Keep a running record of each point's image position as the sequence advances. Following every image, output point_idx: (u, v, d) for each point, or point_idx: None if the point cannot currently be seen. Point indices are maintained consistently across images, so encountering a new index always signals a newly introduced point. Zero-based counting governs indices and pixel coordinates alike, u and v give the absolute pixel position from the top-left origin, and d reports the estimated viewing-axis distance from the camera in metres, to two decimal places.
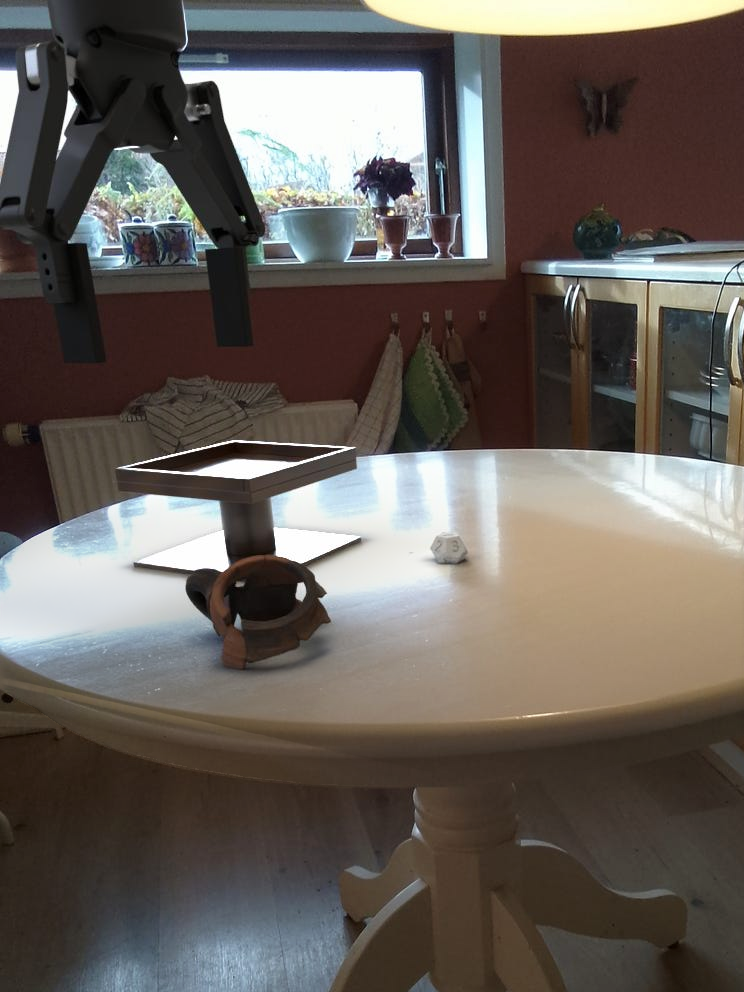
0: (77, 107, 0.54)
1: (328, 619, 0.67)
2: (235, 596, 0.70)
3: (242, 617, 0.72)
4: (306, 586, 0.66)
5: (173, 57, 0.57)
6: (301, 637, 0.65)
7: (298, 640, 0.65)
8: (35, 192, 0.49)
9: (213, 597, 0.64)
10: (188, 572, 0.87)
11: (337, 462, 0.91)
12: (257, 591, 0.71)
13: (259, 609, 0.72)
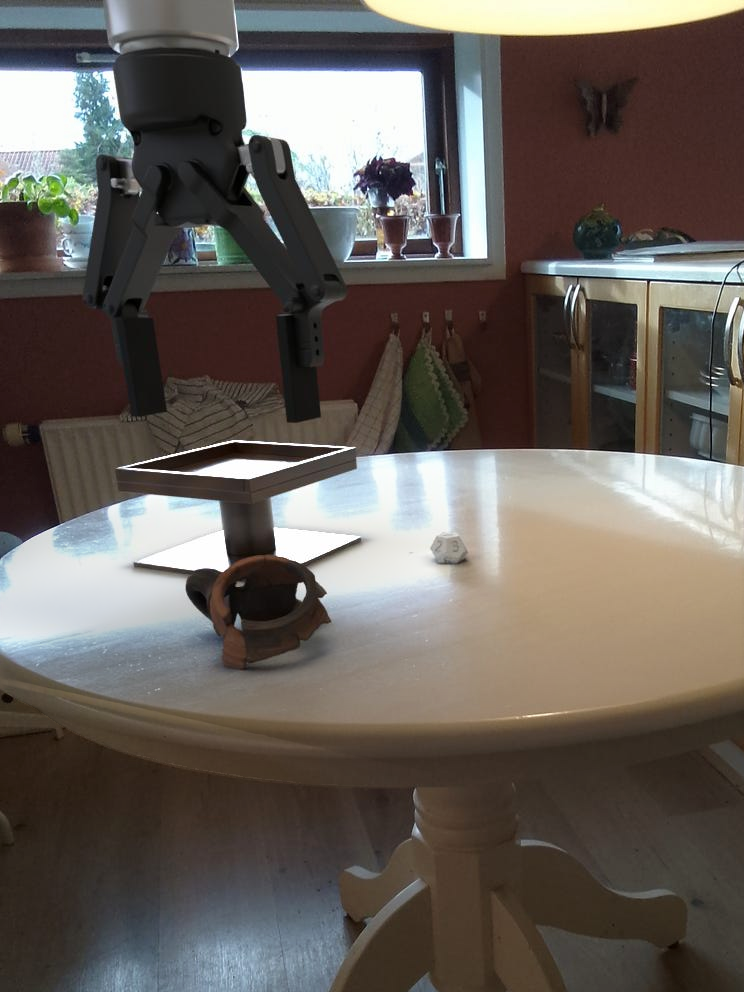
0: (210, 184, 0.56)
1: (328, 619, 0.67)
2: (235, 596, 0.70)
3: (243, 617, 0.72)
4: (306, 586, 0.66)
5: None
6: (301, 637, 0.65)
7: (298, 640, 0.65)
8: None
9: (213, 597, 0.64)
10: (188, 572, 0.87)
11: (337, 462, 0.91)
12: (257, 591, 0.71)
13: (259, 609, 0.72)
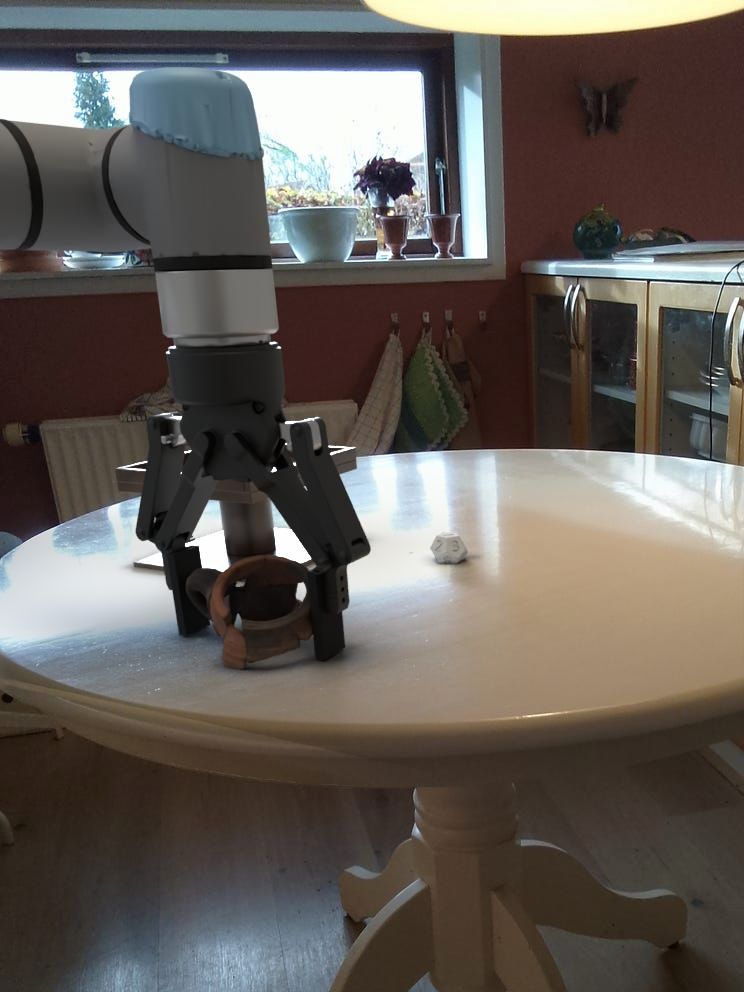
0: (253, 456, 0.62)
1: None
2: (235, 596, 0.70)
3: (243, 617, 0.72)
4: (306, 586, 0.66)
5: None
6: (301, 637, 0.65)
7: (298, 640, 0.65)
8: None
9: (213, 597, 0.64)
10: None
11: (337, 462, 0.91)
12: (257, 591, 0.71)
13: (259, 609, 0.72)
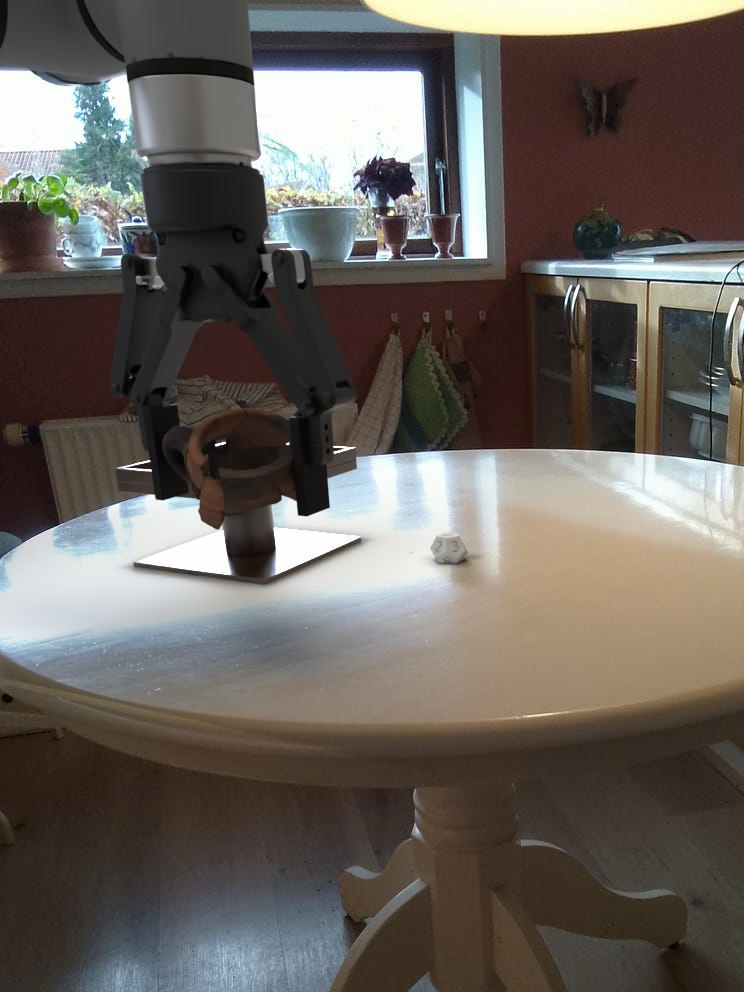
0: (232, 289, 0.58)
1: None
2: (215, 457, 0.66)
3: None
4: (289, 438, 0.62)
5: None
6: (283, 490, 0.61)
7: (280, 494, 0.61)
8: None
9: (190, 446, 0.61)
10: (188, 572, 0.87)
11: (337, 462, 0.91)
12: (238, 454, 0.67)
13: None
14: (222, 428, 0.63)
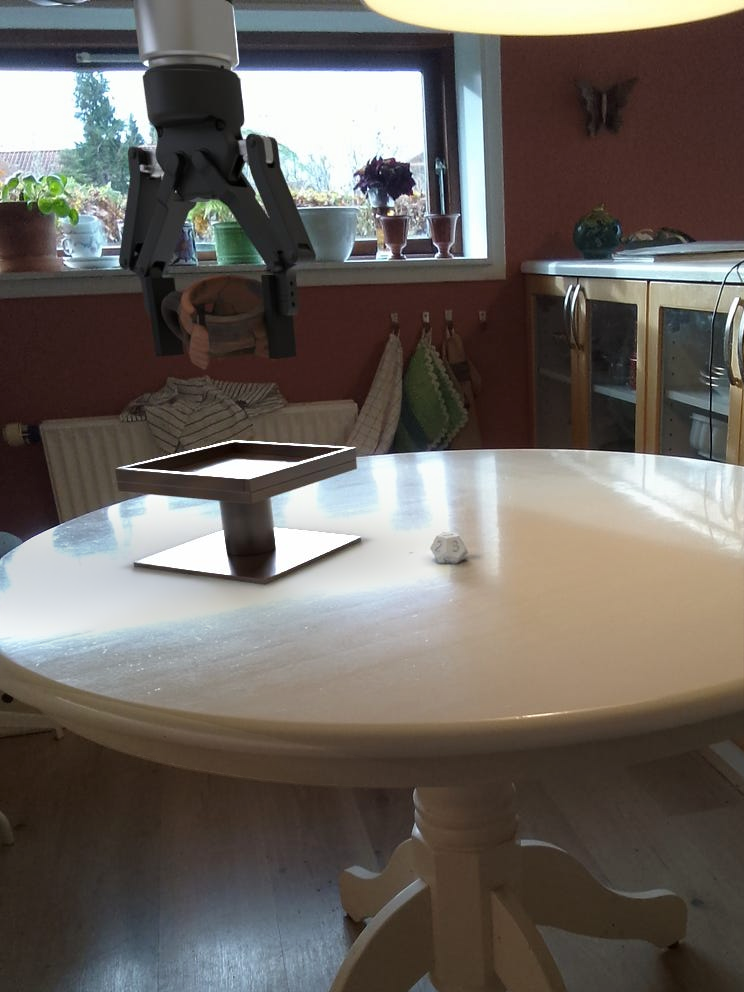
0: (215, 169, 0.73)
1: None
2: (204, 319, 0.81)
3: None
4: (262, 296, 0.77)
5: None
6: (257, 336, 0.76)
7: (254, 338, 0.76)
8: None
9: (182, 300, 0.75)
10: (188, 572, 0.87)
11: (337, 462, 0.91)
12: None
13: None
14: (209, 290, 0.78)
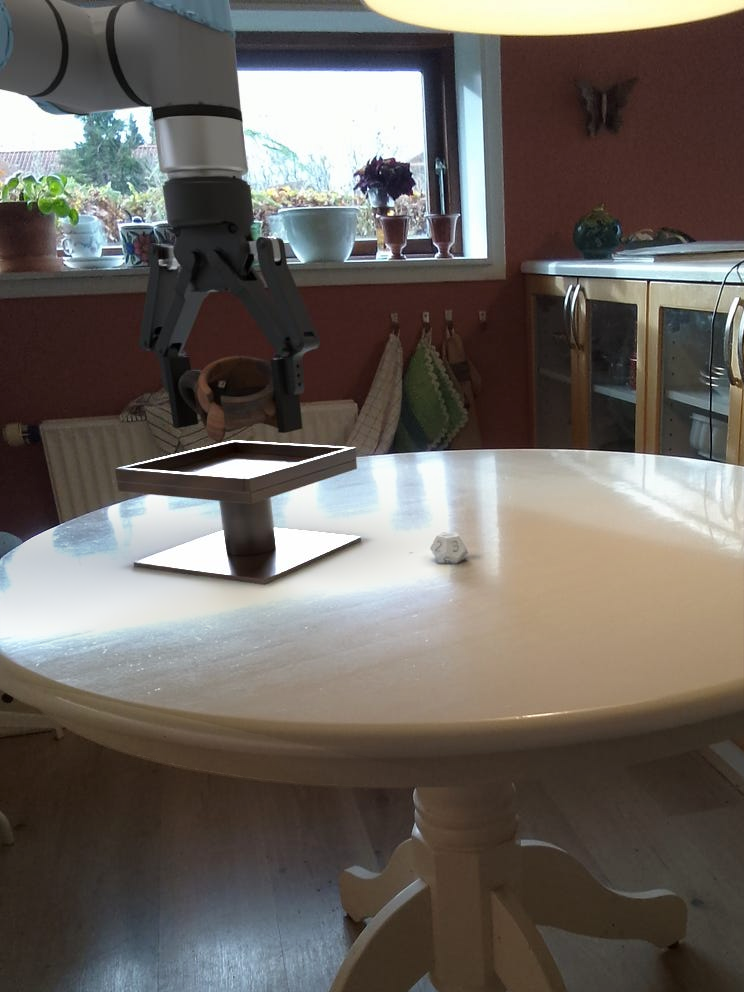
0: (228, 267, 0.81)
1: None
2: (217, 394, 0.89)
3: None
4: (271, 376, 0.85)
5: None
6: (267, 413, 0.84)
7: (265, 415, 0.84)
8: None
9: (199, 381, 0.84)
10: (188, 572, 0.87)
11: (337, 462, 0.91)
12: (235, 392, 0.90)
13: None
14: (223, 370, 0.86)
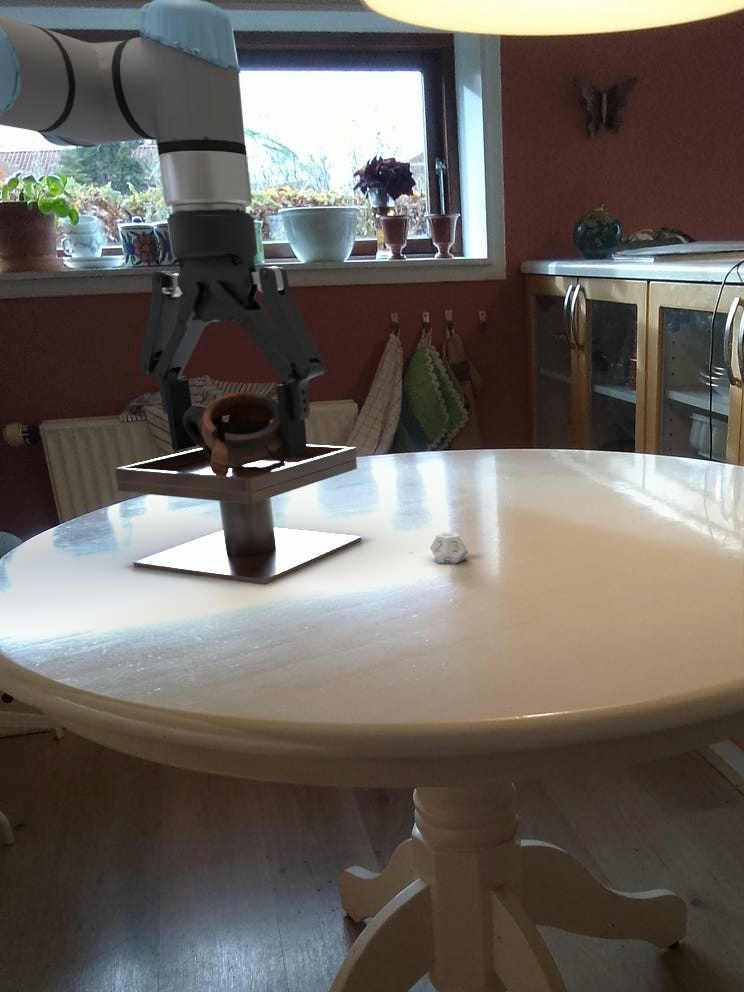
0: (232, 297, 0.82)
1: None
2: (221, 428, 0.91)
3: None
4: (275, 413, 0.86)
5: None
6: (271, 449, 0.85)
7: (268, 452, 0.85)
8: None
9: (204, 418, 0.85)
10: (188, 572, 0.87)
11: (337, 462, 0.91)
12: (238, 426, 0.92)
13: None
14: (226, 406, 0.88)
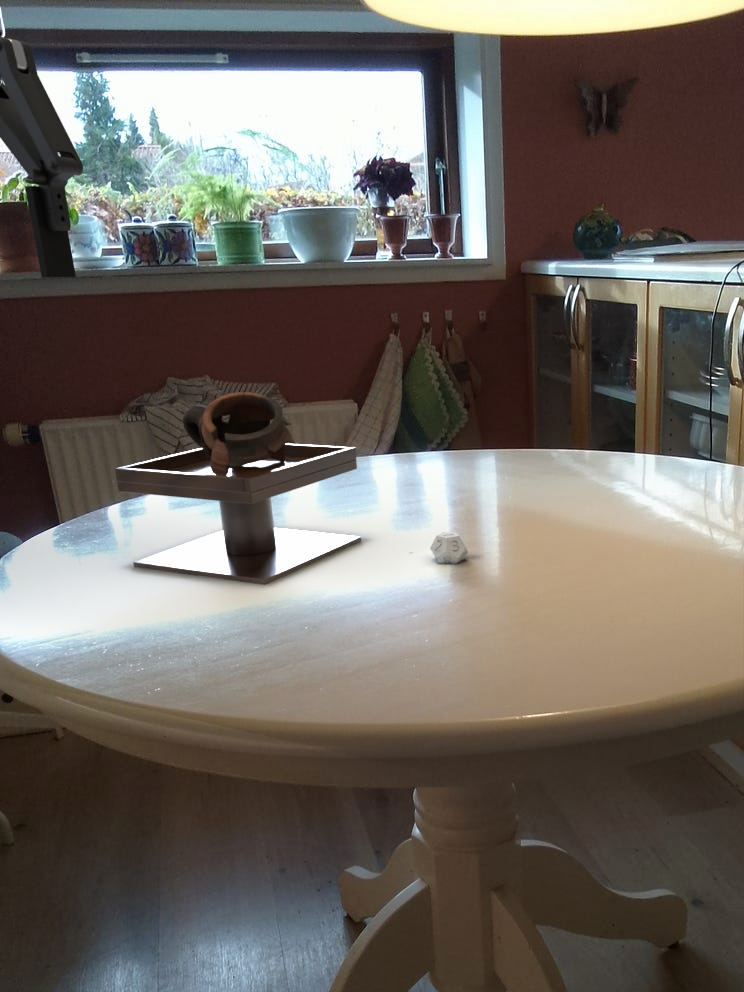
0: None
1: (292, 440, 0.87)
2: (221, 428, 0.91)
3: None
4: (275, 413, 0.86)
5: None
6: (271, 449, 0.85)
7: (268, 452, 0.85)
8: None
9: (204, 418, 0.85)
10: (188, 572, 0.87)
11: (337, 462, 0.91)
12: (238, 426, 0.92)
13: None
14: (226, 406, 0.88)
